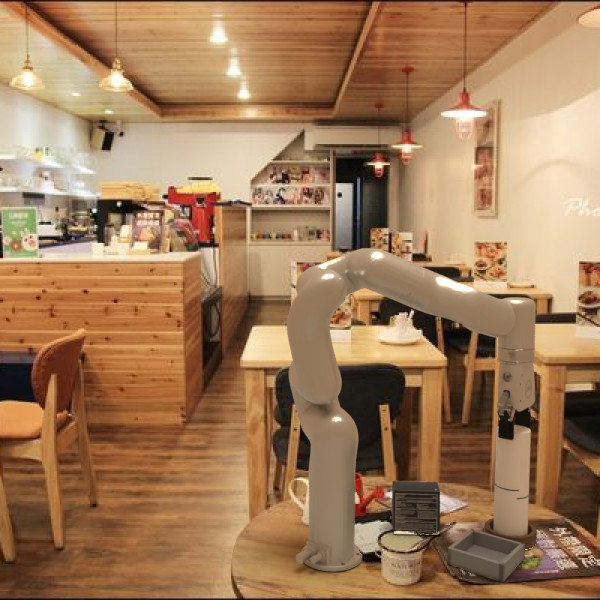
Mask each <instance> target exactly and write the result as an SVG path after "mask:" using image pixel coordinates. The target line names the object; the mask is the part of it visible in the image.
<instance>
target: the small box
mask: <svg viewBox="0 0 600 600" xmlns="http://www.w3.org/2000/svg"><path fill="white" fill-rule="evenodd" d="M391 486H392V487H391V490H392V491H391V492H392V494H391V495H392V497H391V500H392V502H391V509H392V510H391V514H392V515H391V518H392V519H391V522H392V523H391V528H392V527H393V529H392V531H393V530H408V531H417V532H421V533H424V534H433V533H436V532H438V531H441V489H440V486H439V483H438V482H437V481H406V480H404V481H403V480H397V481H396V480H392V485H391Z"/></svg>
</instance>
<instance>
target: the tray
mask: <svg viewBox="0 0 600 600" xmlns="http://www.w3.org/2000/svg"><path fill="white" fill-rule="evenodd" d="M525 552H526V551H525V544H523V543H520V542H516V541H513V540H509V539H506V538H502V537H499V536H495V535H491V534H488V533H485V531H480V530H477V529H472V528H471V529H470V530H468V531H467V532H466V533H465V534H463V535H462V536H461V537H459V539H456V541H455V542H453V543H452V544H451V545H450V546H448V547H447V559H446V562H447V563H446V565H447V564H450V565H452V566H451V567H453V566H456V567H459V568H462V569H464V570H463V571H465V570H466V572H468V571H469V573H471V572H472V573H471V574H475V575H478V576H480V577H484V578H487V579H490V580H493V581H496V582H500V583H504V582H505V580H506V579H508V578H509V577H510V576H511V575H512V574H513V573H514V571H515V570H516V569H517V568H518V567H519V566H520V565H521V564H522V563H523V562H524V561H525ZM523 560H524V561H523ZM522 561H523V562H522ZM521 562H522V563H521ZM520 563H521V564H520ZM519 564H520V565H519ZM450 565H449V566H450ZM518 565H519V566H518ZM517 566H518V567H517ZM456 567H455V568H456ZM516 567H517V568H516ZM459 568H458V569H459ZM462 569H461V570H462Z"/></svg>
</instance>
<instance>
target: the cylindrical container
mask: <svg viewBox="0 0 600 600" xmlns="http://www.w3.org/2000/svg"><path fill="white" fill-rule="evenodd" d="M495 431H496V432H495V459H494V460H495V462H494V464H495V465H494V491H493V492H494V498H493V500H494V501H493V502H494V503H493V518H494V528H493V530H494V531H495V532H497V533H500V534H504V535H507V536H524V535H527V534H528V523H529V502H530V501H529V500H530V498H529V497H530V472H531V471H530V468H531V467H530V466H531V439H532V438H531V437H532V436H531V435H532V431H531V428H530V429H529V428H527V427H524V426H519V425H515V424H514V439H513V440H507V439H502V438H499V437H498V425H497V426H496V427H495Z"/></svg>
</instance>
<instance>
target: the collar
mask: <svg viewBox="0 0 600 600" xmlns="http://www.w3.org/2000/svg"><path fill="white" fill-rule="evenodd" d="M493 528H494V517H493V518H489V519H488V520H487V521H485V522H484V533H488V534H491V535H495V536H499V537H502V538H506V539H509V540H513V541H516V542H520V543H523V544H525V549H529V548H532V547H533V546H535V544H536V545H537V543H538V542H537V539H538V538H537V537H538V530H537V529H536V527H535V525H533V524H531V523H530V522H528V534H527V535H524V536H507V535H504V534H500V533H497V532H495V531H494V530H493ZM535 547H536V546H535Z"/></svg>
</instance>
